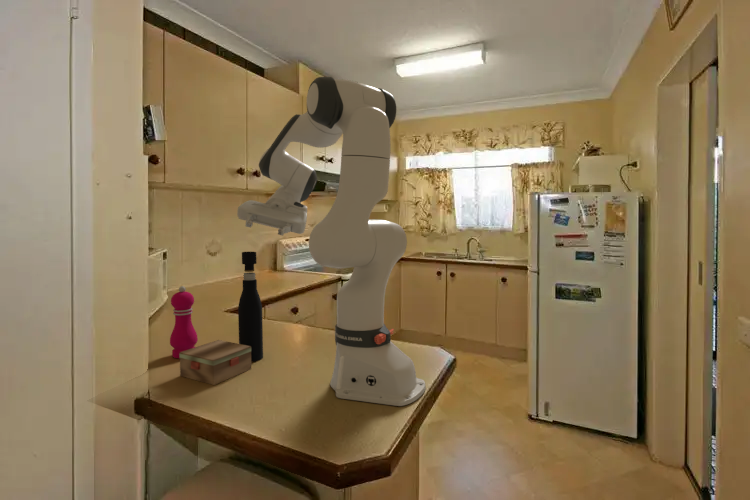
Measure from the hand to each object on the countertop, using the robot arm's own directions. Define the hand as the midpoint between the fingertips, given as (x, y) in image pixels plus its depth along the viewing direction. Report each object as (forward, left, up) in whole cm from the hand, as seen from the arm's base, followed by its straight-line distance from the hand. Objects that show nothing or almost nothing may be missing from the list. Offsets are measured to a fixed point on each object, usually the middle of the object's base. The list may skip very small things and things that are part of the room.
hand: (264, 228), depth 115 cm
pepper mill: (+21, +11, -37) cm, 43 cm away
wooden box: (+2, +16, -36) cm, 40 cm away
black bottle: (+2, +4, -37) cm, 37 cm away
